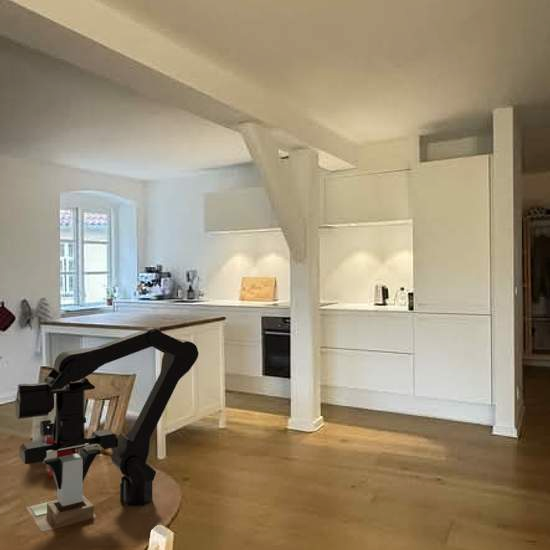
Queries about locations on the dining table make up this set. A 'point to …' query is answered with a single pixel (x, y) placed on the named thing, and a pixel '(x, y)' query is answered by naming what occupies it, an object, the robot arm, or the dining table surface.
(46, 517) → the brown slotted holder
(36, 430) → the plastic bottle
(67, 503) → the block
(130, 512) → the dining table surface
